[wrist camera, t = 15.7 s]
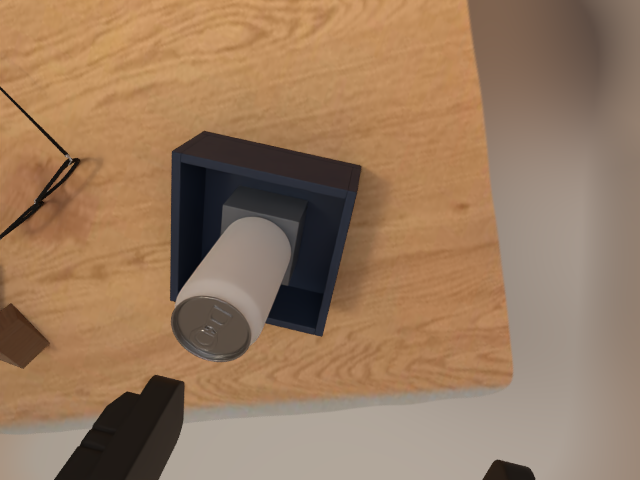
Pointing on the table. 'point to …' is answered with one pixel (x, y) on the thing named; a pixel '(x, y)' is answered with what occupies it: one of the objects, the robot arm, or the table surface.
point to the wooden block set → (18, 338)
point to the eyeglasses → (46, 192)
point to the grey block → (269, 216)
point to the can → (232, 291)
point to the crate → (276, 177)
